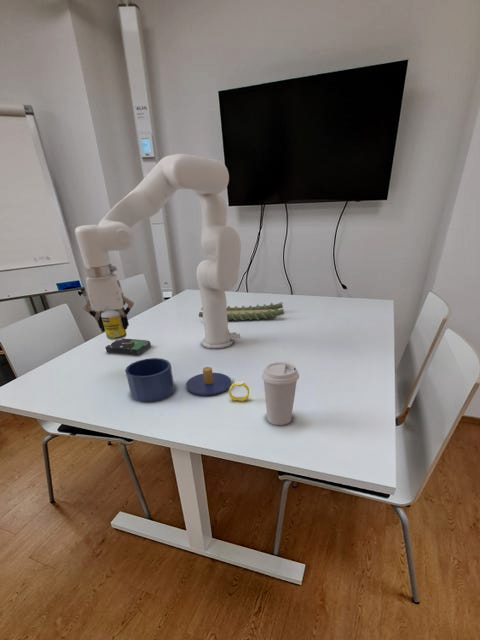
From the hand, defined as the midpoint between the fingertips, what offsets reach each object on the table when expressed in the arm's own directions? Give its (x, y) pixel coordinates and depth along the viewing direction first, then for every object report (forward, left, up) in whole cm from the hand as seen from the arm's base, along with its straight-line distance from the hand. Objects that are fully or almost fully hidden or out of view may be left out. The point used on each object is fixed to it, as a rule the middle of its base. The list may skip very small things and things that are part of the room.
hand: (115, 328), depth 118 cm
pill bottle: (0, 0, -3) cm, 3 cm away
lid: (-30, +15, -15) cm, 37 cm away
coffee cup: (-49, +38, -16) cm, 64 cm away
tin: (-12, +16, -16) cm, 26 cm away
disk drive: (+2, -22, -16) cm, 27 cm away
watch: (-39, +26, -16) cm, 49 cm away
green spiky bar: (-47, -54, -16) cm, 73 cm away
